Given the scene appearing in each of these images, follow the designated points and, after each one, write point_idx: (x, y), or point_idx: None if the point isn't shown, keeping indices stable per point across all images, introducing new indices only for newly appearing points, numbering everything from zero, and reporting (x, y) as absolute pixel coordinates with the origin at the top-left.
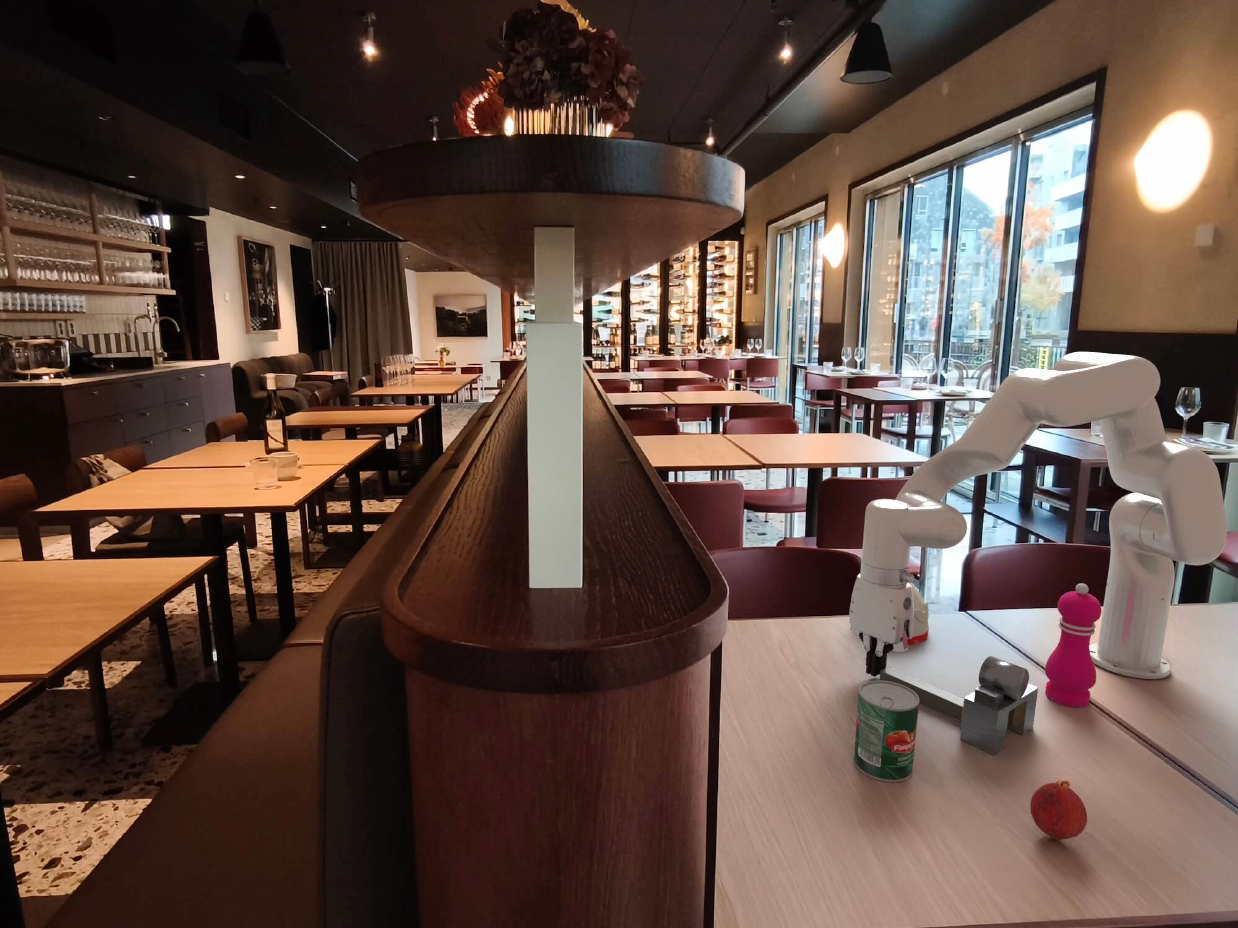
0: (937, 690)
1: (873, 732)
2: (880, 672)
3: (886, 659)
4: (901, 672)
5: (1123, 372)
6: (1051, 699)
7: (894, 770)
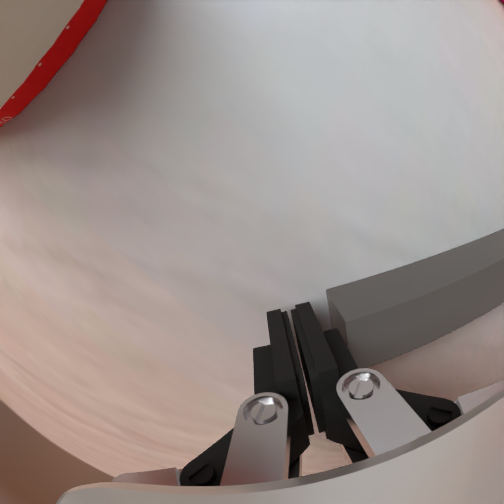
0: None
1: None
2: None
3: (353, 359)
4: (411, 302)
5: None
6: (502, 1)
7: None
